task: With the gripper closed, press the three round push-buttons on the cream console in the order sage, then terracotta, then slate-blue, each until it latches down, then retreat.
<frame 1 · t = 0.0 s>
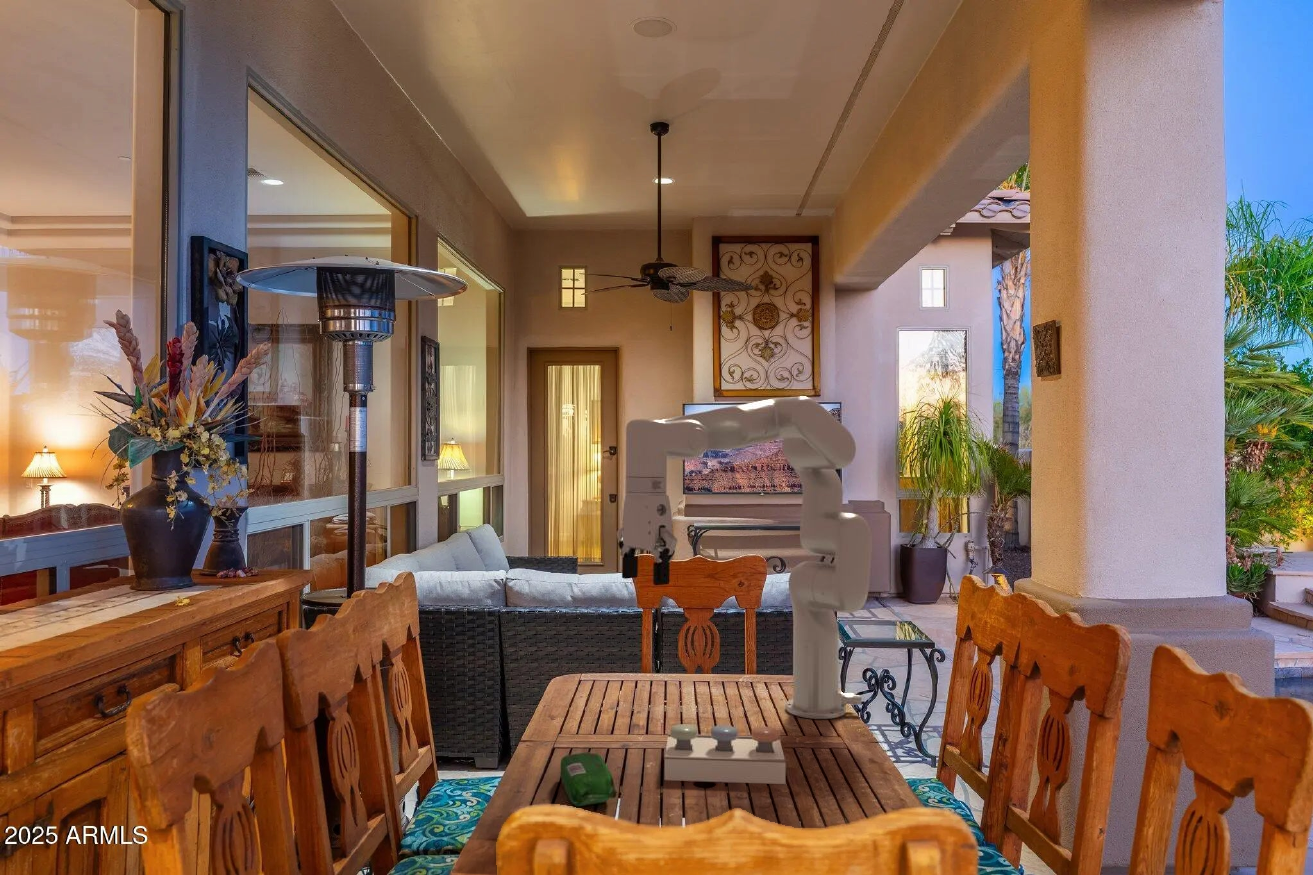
hand: (645, 581, 154), 31 cm above the table, tool pointing down, fingers open, 9 cm apart
snack package: (586, 796, 135), on the table
terracotta button: (764, 741, 146), point 5 cm above the table, slide at 0.0 cm
sage button: (683, 738, 147), point 5 cm above the table, slide at 0.0 cm
slate button: (724, 740, 146), point 5 cm above the table, slide at 0.0 cm
console: (724, 768, 146), on the table
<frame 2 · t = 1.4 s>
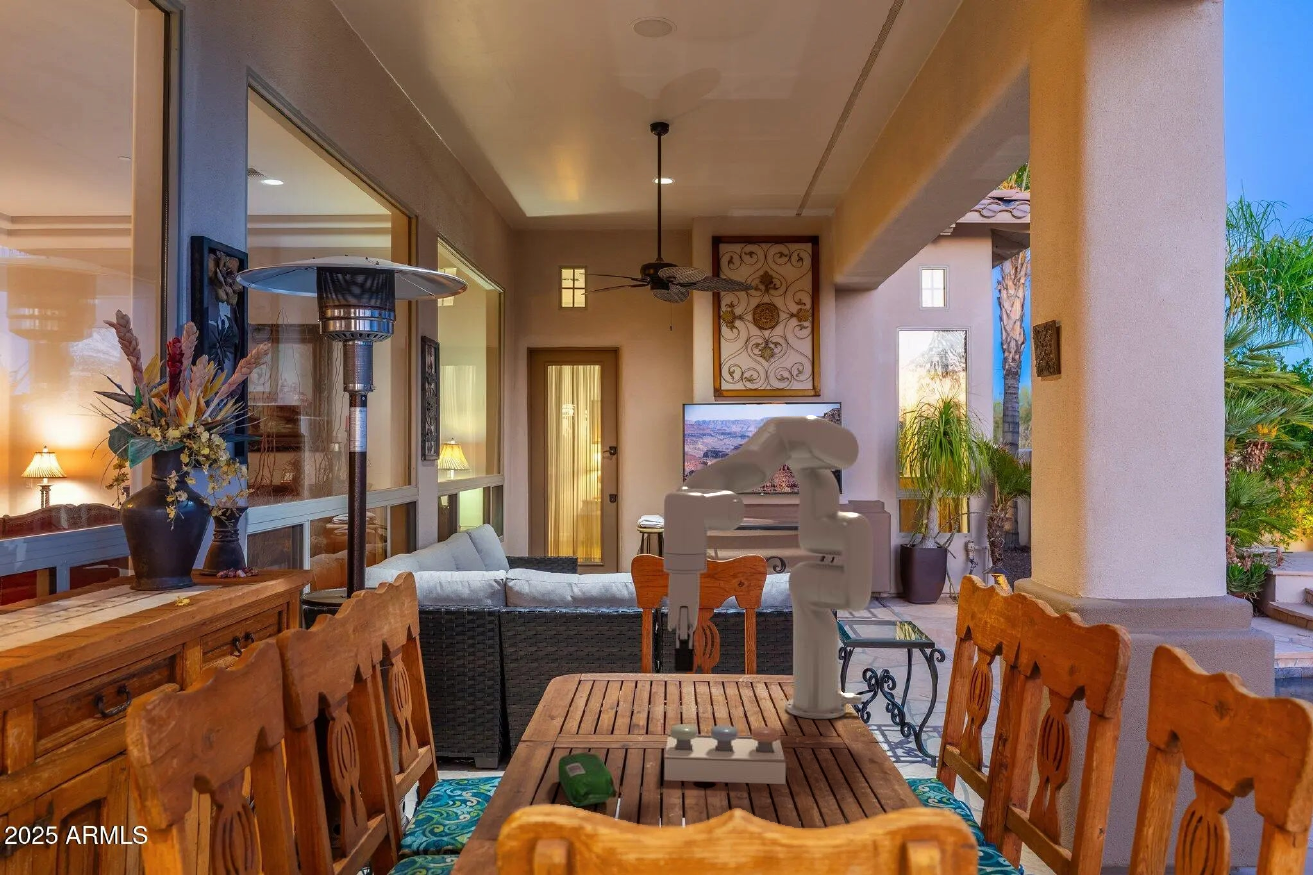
hand: (684, 667, 147), 17 cm above the table, tool pointing down, fingers closed
nothing on the table moved.
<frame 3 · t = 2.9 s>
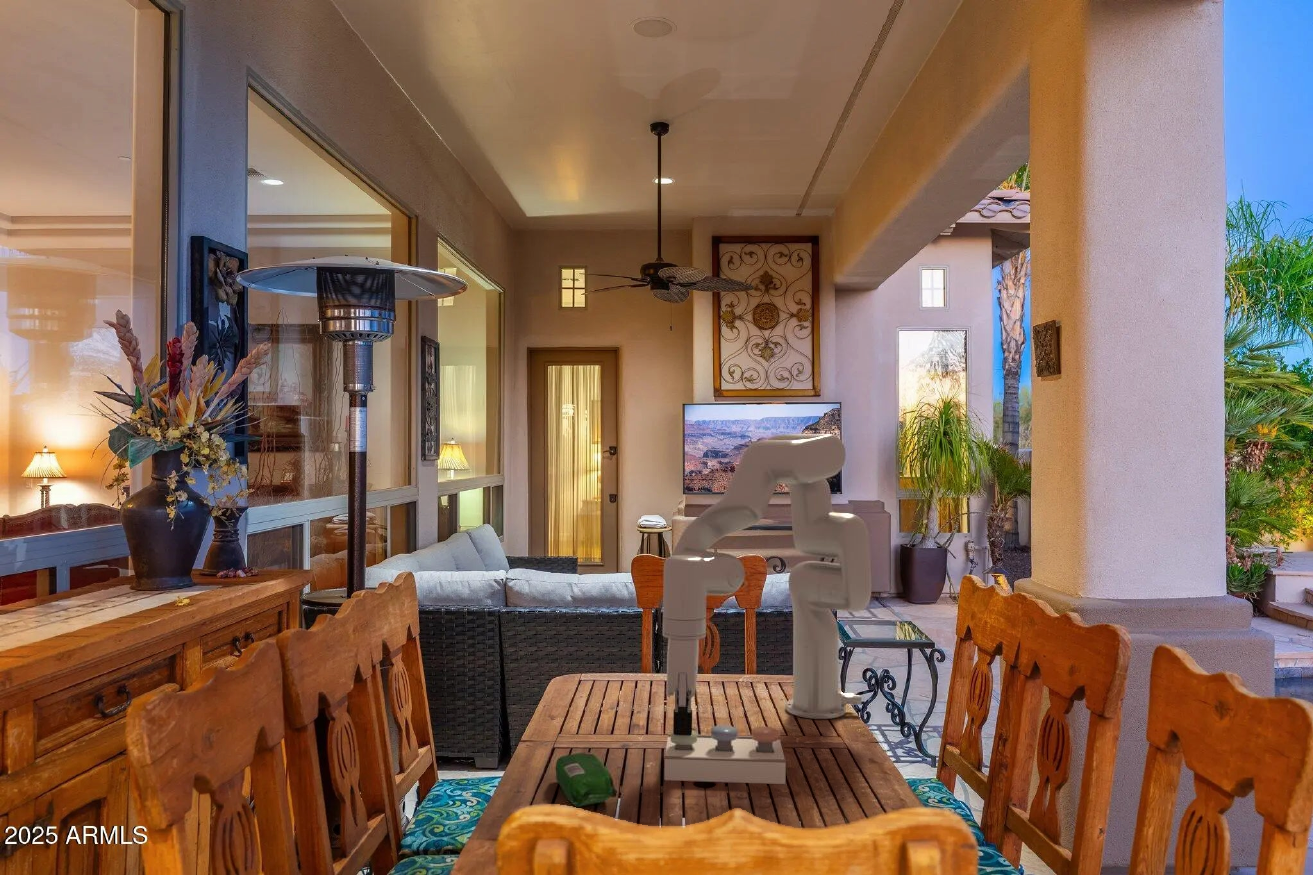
hand: (682, 733, 147), 6 cm above the table, tool pointing down, fingers closed
sage button: (683, 743, 147), point 4 cm above the table, slide at 0.8 cm, touching gripper
everything else where it was.
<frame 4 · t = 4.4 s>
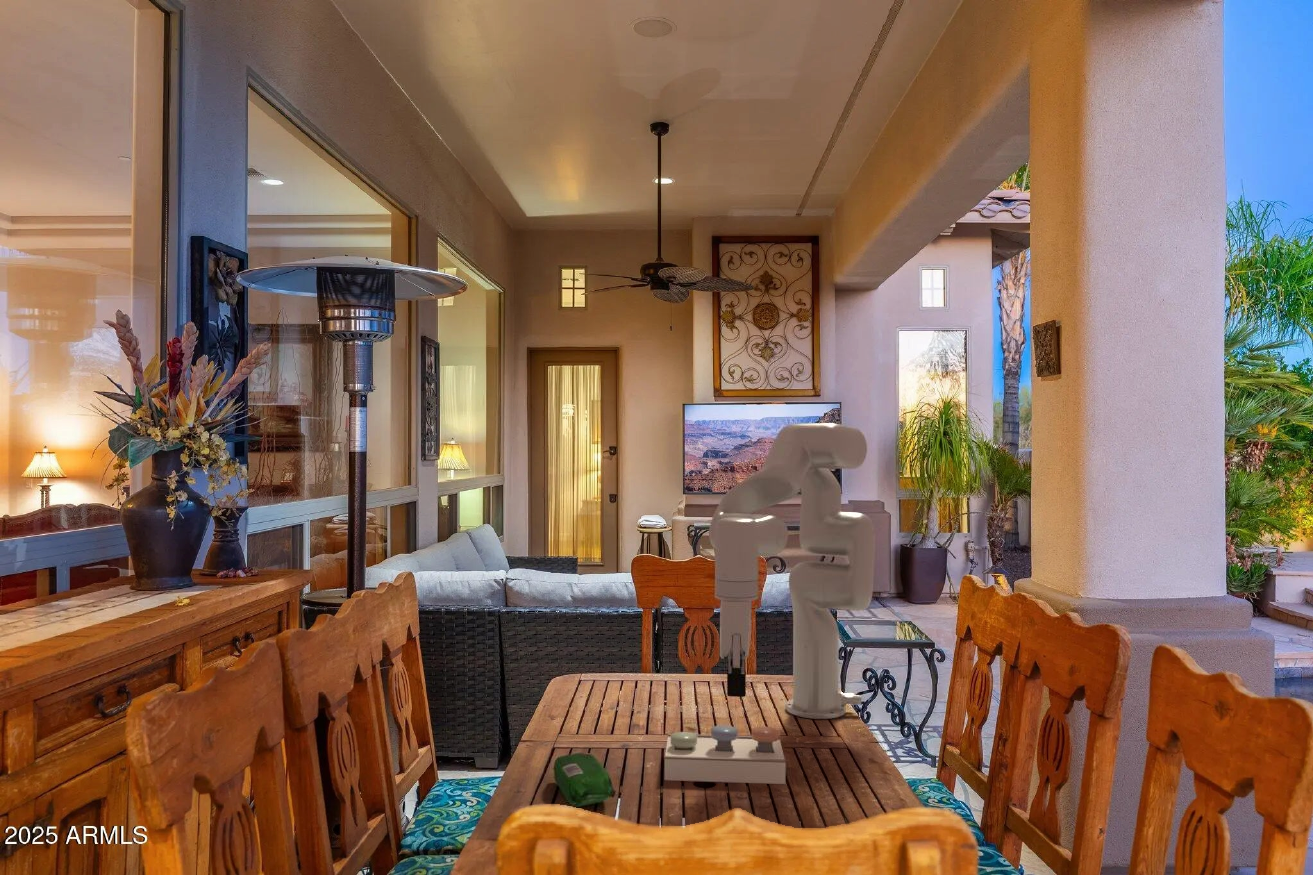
hand: (736, 694, 147), 13 cm above the table, tool pointing down, fingers closed
sage button: (683, 746, 147), point 4 cm above the table, slide at 1.3 cm
everything else where it was.
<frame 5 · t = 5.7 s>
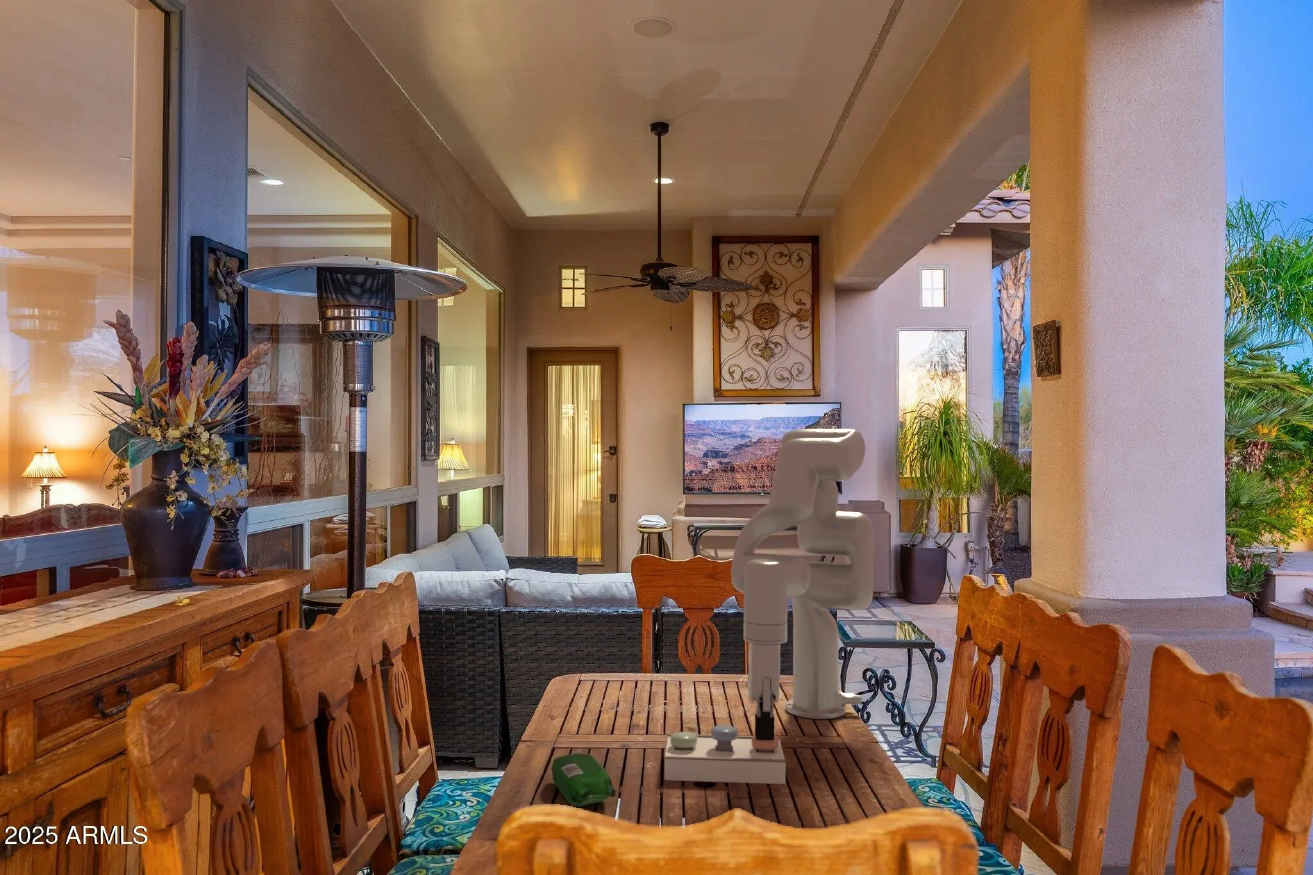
hand: (764, 738, 146), 5 cm above the table, tool pointing down, fingers closed
terracotta button: (764, 748, 146), point 4 cm above the table, slide at 1.3 cm, touching gripper
everything else where it was.
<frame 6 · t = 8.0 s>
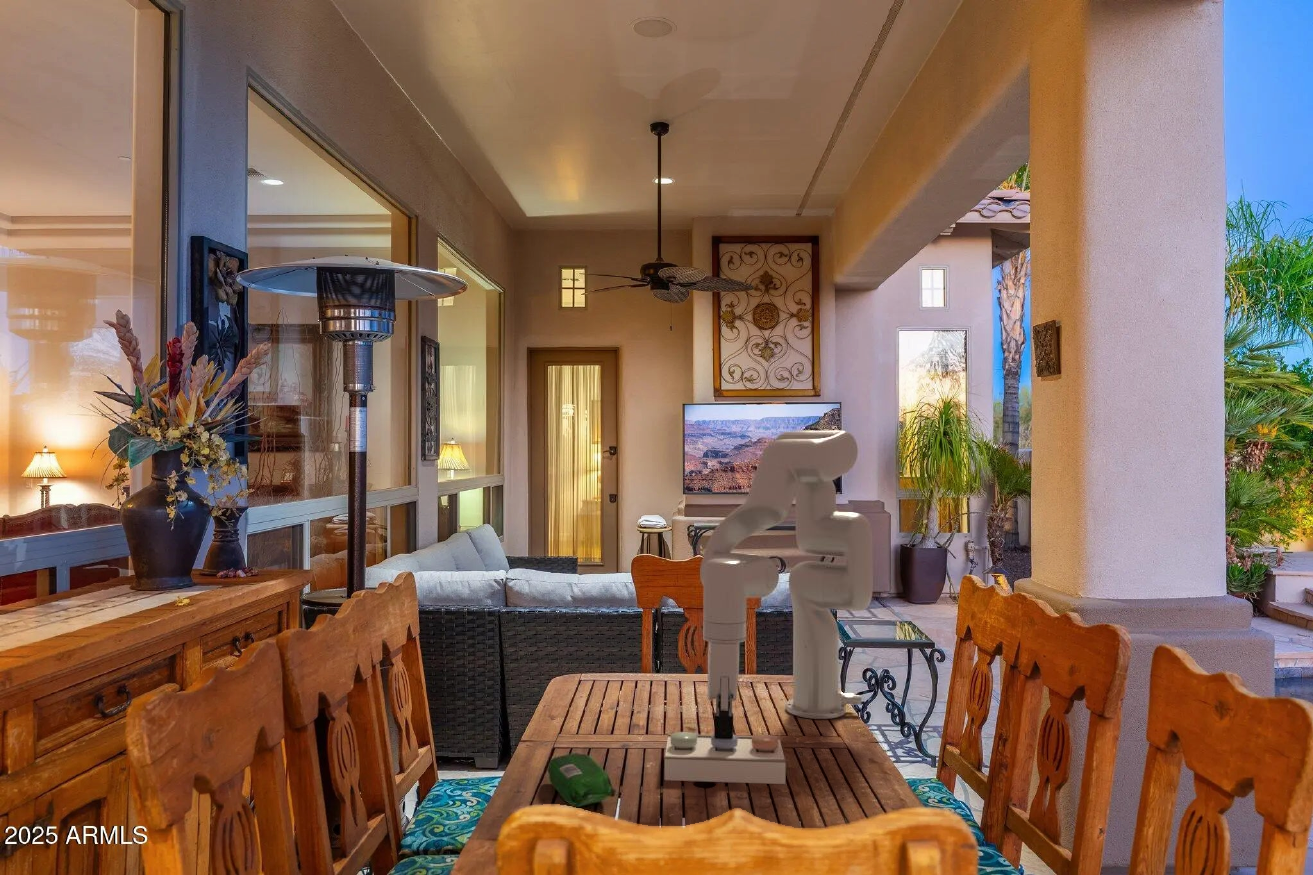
hand: (723, 737, 146), 5 cm above the table, tool pointing down, fingers closed
terracotta button: (764, 749, 146), point 4 cm above the table, slide at 1.3 cm
slate button: (724, 747, 146), point 4 cm above the table, slide at 1.3 cm, touching gripper
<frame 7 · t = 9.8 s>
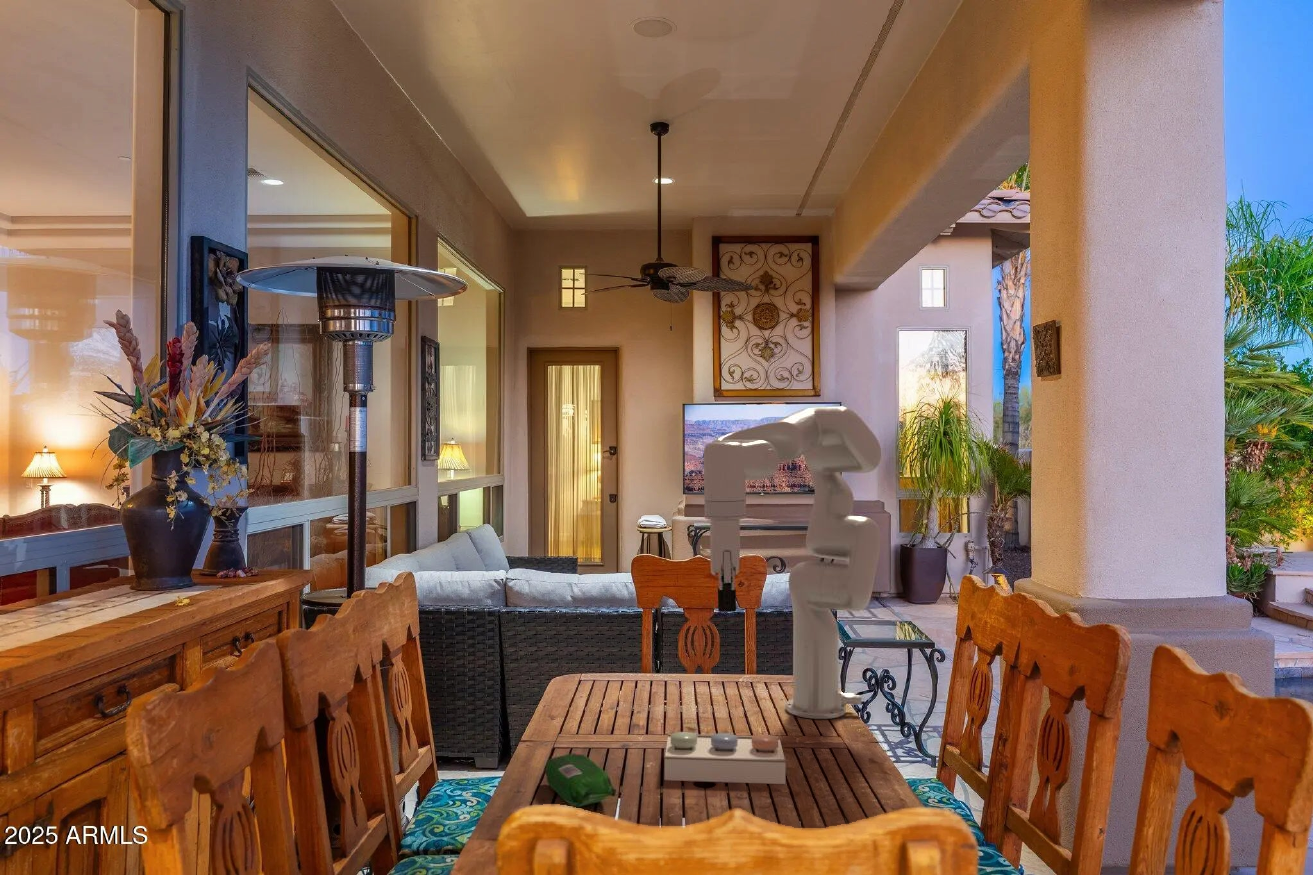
hand: (727, 610, 154), 26 cm above the table, tool pointing down, fingers closed
slate button: (724, 747, 146), point 4 cm above the table, slide at 1.3 cm
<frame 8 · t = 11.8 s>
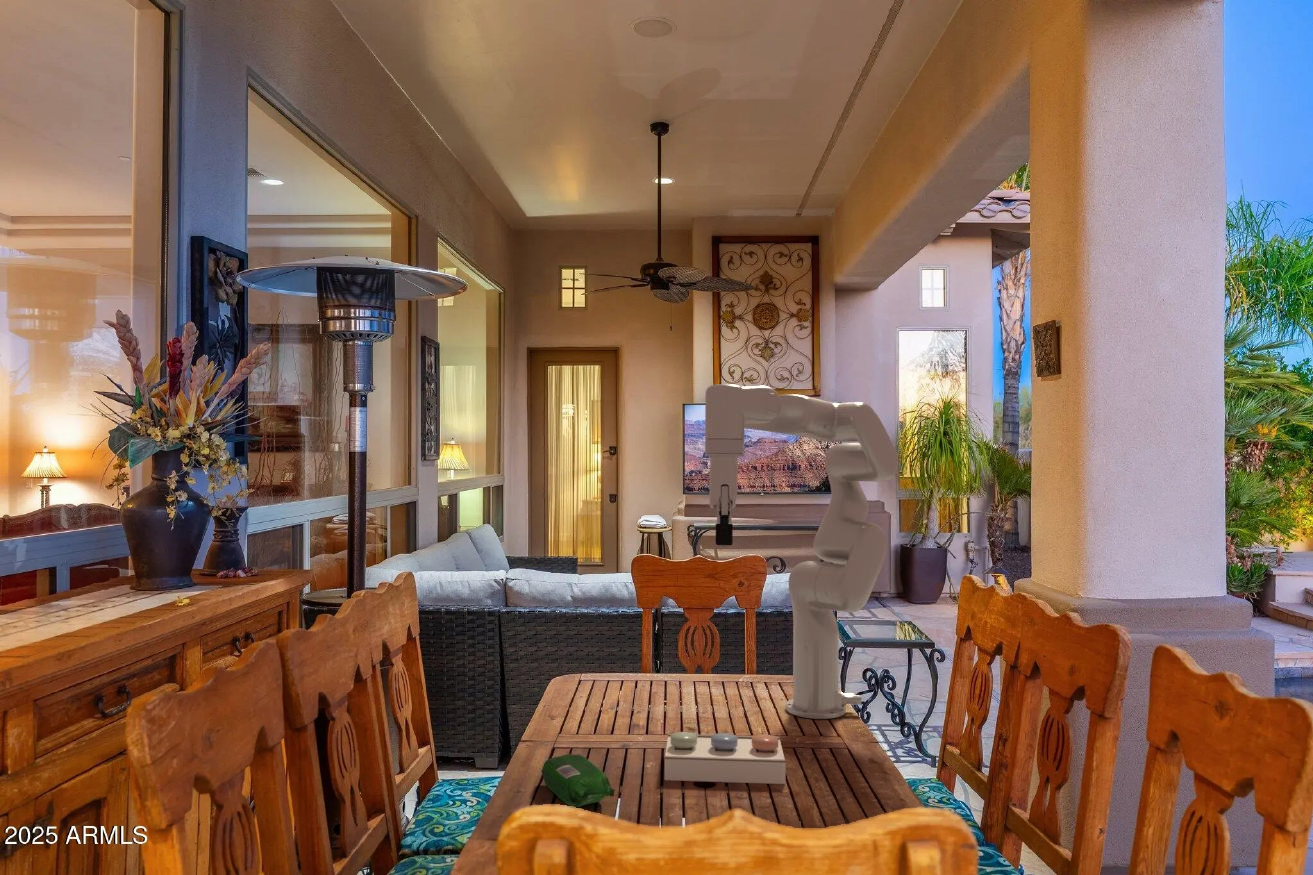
hand: (724, 544, 162), 37 cm above the table, tool pointing down, fingers closed
at the end: sage button slide at 1.3 cm; terracotta button slide at 1.3 cm; slate button slide at 1.3 cm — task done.
